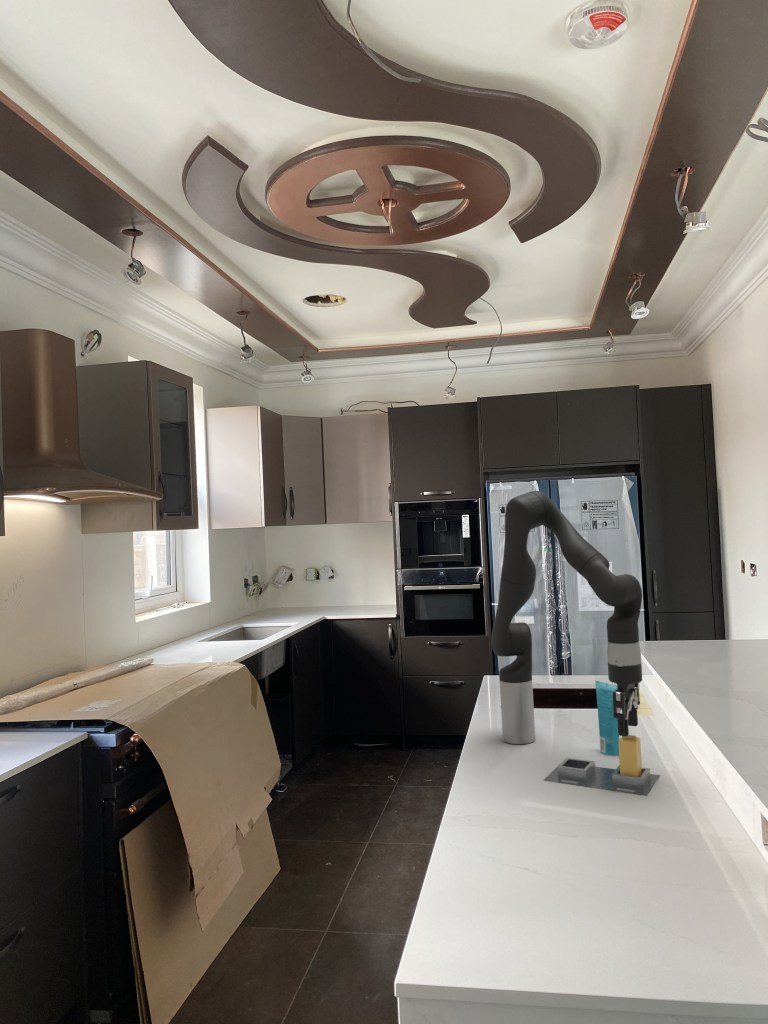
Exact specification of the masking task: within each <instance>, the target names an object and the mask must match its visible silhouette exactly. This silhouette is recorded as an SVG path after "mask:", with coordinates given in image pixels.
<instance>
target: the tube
mask: <svg viewBox="0 0 768 1024" xmlns="http://www.w3.org/2000/svg"><path fill="white" fill-rule="evenodd" d="M594 683H595V693H596V704H597V706H596V707H597V717H598V718H597V720H598V729H599V730H598V732H599V748H600V754H602V755H605V756H612V757H614V756H619V742H618V741H619V740H620V735H619V734H618V721H617V719H616V718H614V716H613V714H614V713H613V691H614V692H616V690H617V684H615V683H610V682H609V683H608V682H604V681H599V680H595V682H594Z"/></svg>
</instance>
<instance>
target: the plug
mask: <svg viewBox="0 0 768 1024" xmlns="http://www.w3.org/2000/svg"><path fill="white" fill-rule="evenodd" d="M618 742H619V755H618V757H619V765H620V774H623V775H631V776H638V777H641V775H642V768H643V765H642V748H641V747H642V746H641V745H642V744H641V737H638V736H637V735H632V734H631V735H630V734H629V735H628V736H620V737H619V741H618Z"/></svg>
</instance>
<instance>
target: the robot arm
mask: <svg viewBox="0 0 768 1024" xmlns="http://www.w3.org/2000/svg"><path fill="white" fill-rule="evenodd" d="M542 526H544V527H545V528H546V529H548V530H549V531H550V532H552V533H553V534H554V536H555V537H556V539H557V540H558V543H559V544H558V545H559V547H560V551H561V553H562V555H563V558H564V559H565V560H566V562H567V563H568V564H569V565H570V566H571V568H573V569H574V570H575V571H576V572H577V573H578V574H579V575H581V576H582V578H584V579H585V580H586V581H587V583H588V585H589V587H590V588H591V589H592V590H593V592H594V594H595V595H596V596H597V598H598V599H599V600H600V601H602V602H603V603H604V604H606V605H607V606H609V607H613V613H612V615H611V616H610V617H608V619H607V620H606V633H607V634H606V635H607V648H606V649H607V650H606V655H607V656H606V657H607V673H608V674H607V675H608V681H609V682H610V683H611V684H615V685H617V690H616V692H614V691H613V713H614V714H613V716H614V718H616V719H617V721H618V734H619V737H622V736H628V735H630V732H629V731H630V730H629V728H630V727H637V726H638V725H639V719H638V717H639V716H638V710H639V706H640V704H641V701H640V700H641V699H640V688H639V687H640V686H639V685H640V684H639V683H641V682H643V666H642V664H643V663H642V651H641V646H640V636H639V635H640V634H639V633H640V631H639V619H640V613H641V607H642V602H643V590H642V586H641V583H640V582H639V580H638V579H637V578H636V577H635V576H633V575H632V574H630V573H629V574H627V573H625V574H619V575H615V574H614V573H613V572H612V571H611V569H610V564H611V563H610V562H609V561H610V560H608V559H607V557H605V556H604V554H602V553H601V552H600V551H599V550H597V548H595V547H594V546H593V545H592V544H590V543H589V542H588V541H587V539H585V538H584V537H583V536H582V535H581V534H580V533H579V532H578V531H577V530H576V528H575V527H574V525H572V523H571V522H570V520H568V518H567V517H566V516H565V514H563V512H562V511H561V510H560V508H559V507H558V506H557V505H556V504H555V503H554V501H553V500H552V499H551V498H550V497H549V496H548V495H547V494H545V493H544V492H543V491H540V490H532V491H528V492H526V493H523V494H519V495H517V496H515V497H513V498H511V499H510V500H508V501H507V503H506V506H505V513H504V546H503V547H504V549H503V557H502V558H503V559H502V566H501V570H500V572H501V573H500V579H499V592H498V599H497V600H498V602H497V608H496V613H495V617H494V622H493V627H492V631H491V648H492V649H491V650H492V651H493V652H494V654H495V655H496V656H497V657H516V658H515V659H514V660H513V661H512V662H510V663H509V664H507V665H505V666H503V667H502V668H500V669H499V671H498V677H499V679H498V681H499V693H500V694H499V695H500V697H499V698H500V711H501V712H500V716H501V733H502V734H501V735H502V741H503V742H505V743H507V744H513V745H526V744H530V743H534V742H535V740H536V727H535V710H534V709H535V708H534V707H535V705H534V691H533V688H534V687H533V638H532V631H531V627H530V626H529V624H528V623H527V622H512V621H513V619H514V617H515V616H516V615H517V613H518V612H519V611H520V610H521V609H522V608H523V607H524V606H525V605H526V603H528V601H529V599H530V598H531V597H532V595H533V593H534V590H535V586H536V585H535V584H536V576H537V569H536V565H535V563H534V561H533V559H532V557H531V555H530V553H529V552H528V540H529V533H530V531H531V530H533V529H536V528H538V527H542Z"/></svg>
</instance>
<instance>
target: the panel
mask: <svg viewBox="0 0 768 1024" xmlns="http://www.w3.org/2000/svg"><path fill="white" fill-rule="evenodd" d="M660 777H661V774H653V773H651V769H650V768H649V767H642V775H641V777H638V776H631V775H623V774H620V764H619V765H618V766H617V767H616V768H615V769H614V768H609V767H603V766H596V762H595V761H594V760H587V759H580V758H571V757H566V758H564V760H563V761H562V762H560V763H559V764H558V766H556V767H555V768H554V769H553V770H552V771H551V772H550V773H549V774H548V775H547V776H546V777H545V778H544V779H543V780H542V781H544V782H548V783H549V782H550V783H555V784H556V783H557V784H563V785H570V786H577V787H584V788H590V789H597V790H603V791H611V792H616V793H624V794H630V795H638V796H642V797H648V795H649V794H650V793H651V791H652V789H653V787H654V786H655V784H656V783H657V782H658V780H659V778H660Z"/></svg>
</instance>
